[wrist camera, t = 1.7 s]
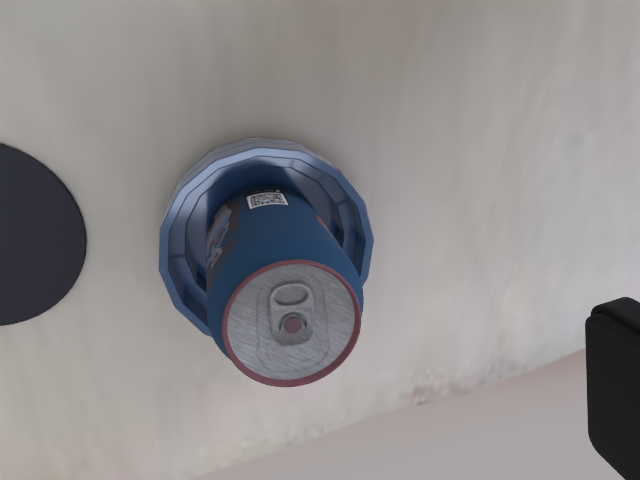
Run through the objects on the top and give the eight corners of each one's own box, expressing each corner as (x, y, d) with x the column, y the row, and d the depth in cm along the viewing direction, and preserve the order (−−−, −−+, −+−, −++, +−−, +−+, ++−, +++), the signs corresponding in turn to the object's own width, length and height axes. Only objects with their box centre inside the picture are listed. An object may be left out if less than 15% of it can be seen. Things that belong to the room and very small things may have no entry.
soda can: (320, 279, 34) (375, 386, 23) (212, 291, 33) (216, 412, 22) (316, 174, 32) (375, 238, 21) (199, 184, 30) (196, 257, 19)
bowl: (327, 112, 31) (344, 119, 27) (372, 283, 35) (391, 309, 32) (133, 172, 30) (123, 188, 26) (204, 341, 34) (203, 375, 31)
